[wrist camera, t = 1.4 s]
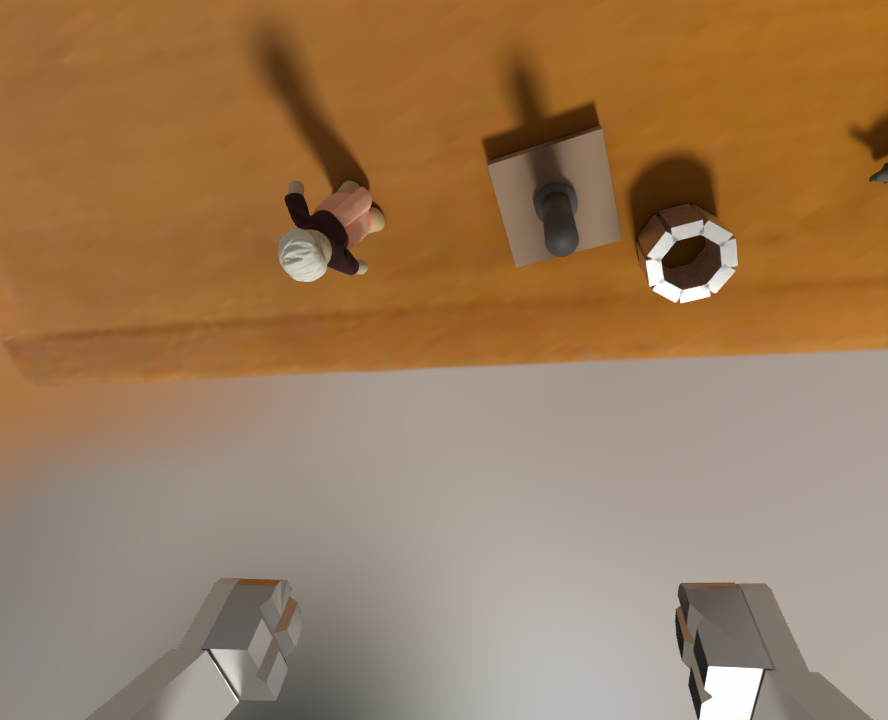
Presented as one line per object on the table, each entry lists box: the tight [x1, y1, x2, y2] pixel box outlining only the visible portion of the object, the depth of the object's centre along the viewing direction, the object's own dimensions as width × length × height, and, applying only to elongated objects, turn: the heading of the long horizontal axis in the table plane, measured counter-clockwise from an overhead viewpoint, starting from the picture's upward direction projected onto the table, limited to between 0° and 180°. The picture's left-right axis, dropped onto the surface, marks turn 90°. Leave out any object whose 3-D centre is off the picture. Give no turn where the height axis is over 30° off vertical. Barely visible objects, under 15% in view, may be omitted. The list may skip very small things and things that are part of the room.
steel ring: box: [636, 203, 738, 303], centre depth 39 cm, size 6×6×4 cm
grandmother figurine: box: [278, 181, 385, 282], centre depth 37 cm, size 8×4×13 cm, turn 47°
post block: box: [487, 125, 622, 268], centre depth 36 cm, size 8×8×10 cm
